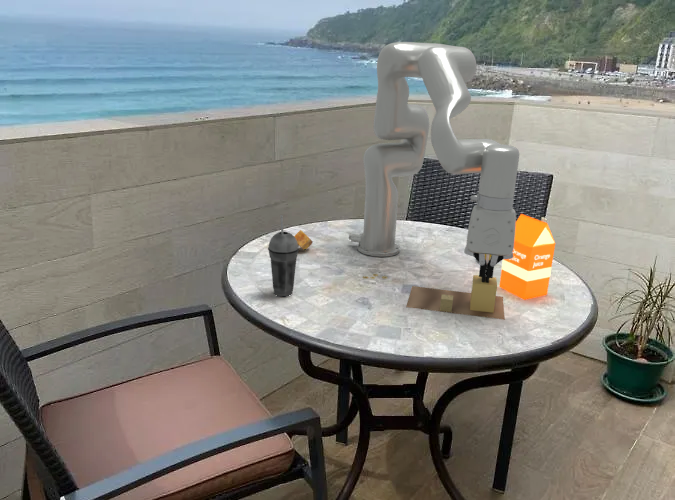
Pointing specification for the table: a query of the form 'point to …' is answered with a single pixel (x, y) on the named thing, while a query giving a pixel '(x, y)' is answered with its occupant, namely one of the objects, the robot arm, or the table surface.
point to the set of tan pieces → (374, 277)
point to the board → (460, 305)
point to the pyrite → (303, 240)
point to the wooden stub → (446, 303)
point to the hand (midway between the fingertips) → (485, 280)
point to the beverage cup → (283, 261)
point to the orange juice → (529, 259)
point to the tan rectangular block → (483, 294)
